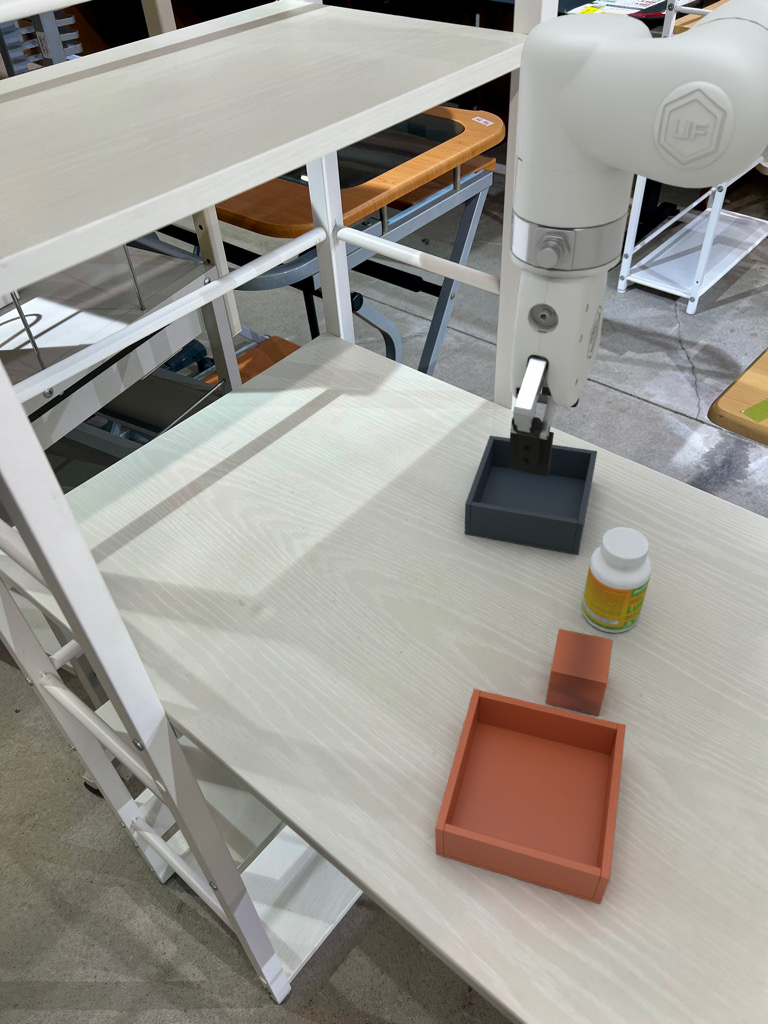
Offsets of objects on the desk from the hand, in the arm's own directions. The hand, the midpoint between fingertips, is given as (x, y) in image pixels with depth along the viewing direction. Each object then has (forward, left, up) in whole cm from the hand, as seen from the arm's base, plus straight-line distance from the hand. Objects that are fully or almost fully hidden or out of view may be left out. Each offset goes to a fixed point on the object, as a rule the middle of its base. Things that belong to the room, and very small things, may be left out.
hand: (544, 435), depth 62 cm
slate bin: (+2, -12, -19) cm, 23 cm away
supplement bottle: (-8, +1, -19) cm, 21 cm away
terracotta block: (-6, +11, -19) cm, 23 cm away
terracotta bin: (-4, +22, -19) cm, 30 cm away
